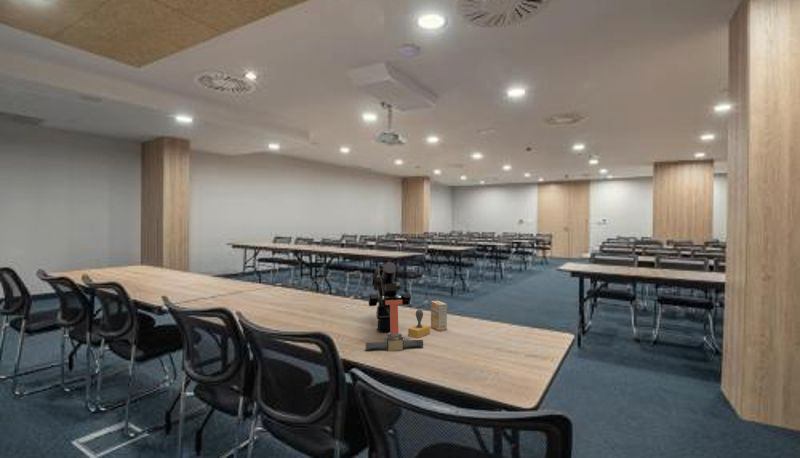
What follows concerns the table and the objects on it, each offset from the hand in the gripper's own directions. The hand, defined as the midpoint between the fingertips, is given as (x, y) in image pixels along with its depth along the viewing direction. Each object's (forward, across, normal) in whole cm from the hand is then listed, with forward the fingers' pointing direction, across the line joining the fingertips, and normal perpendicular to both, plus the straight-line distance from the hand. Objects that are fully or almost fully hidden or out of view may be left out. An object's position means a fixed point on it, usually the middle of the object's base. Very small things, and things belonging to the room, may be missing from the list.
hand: (391, 316), depth 169 cm
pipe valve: (+14, 0, +3) cm, 14 cm away
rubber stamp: (+2, +15, +15) cm, 21 cm away
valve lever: (+10, 0, -1) cm, 10 cm away
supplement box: (-4, +26, +21) cm, 34 cm away
